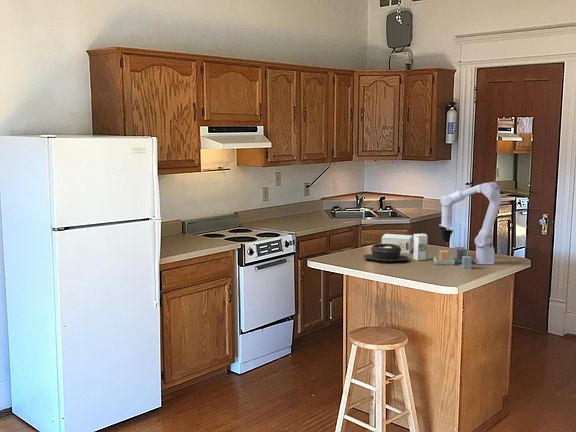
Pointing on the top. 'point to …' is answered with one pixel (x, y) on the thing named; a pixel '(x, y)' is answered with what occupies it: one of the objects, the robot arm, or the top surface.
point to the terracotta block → (443, 255)
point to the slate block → (466, 262)
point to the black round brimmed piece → (386, 253)
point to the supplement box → (399, 241)
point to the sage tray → (437, 262)
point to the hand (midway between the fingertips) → (446, 240)
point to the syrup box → (420, 247)
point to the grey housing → (459, 254)
